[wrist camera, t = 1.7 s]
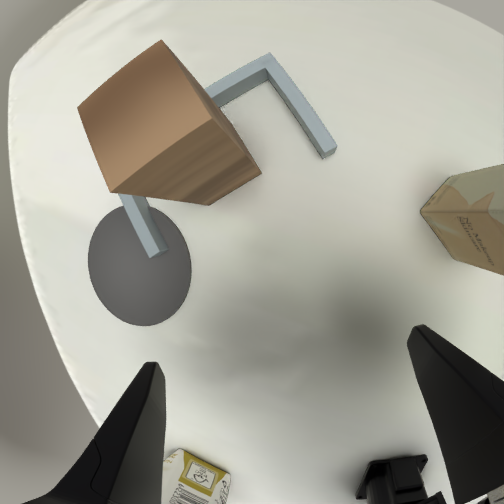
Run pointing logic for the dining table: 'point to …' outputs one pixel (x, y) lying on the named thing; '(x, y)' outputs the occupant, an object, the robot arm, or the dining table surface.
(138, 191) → the walnut block
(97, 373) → the dining table surface
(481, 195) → the box
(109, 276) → the coaster
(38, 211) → the dining table surface
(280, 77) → the grey u-frame
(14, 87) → the dining table surface
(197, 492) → the juice carton
